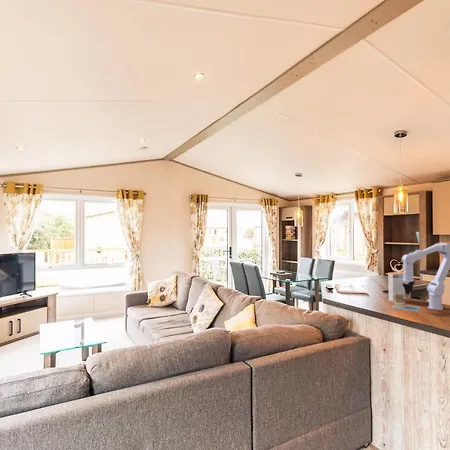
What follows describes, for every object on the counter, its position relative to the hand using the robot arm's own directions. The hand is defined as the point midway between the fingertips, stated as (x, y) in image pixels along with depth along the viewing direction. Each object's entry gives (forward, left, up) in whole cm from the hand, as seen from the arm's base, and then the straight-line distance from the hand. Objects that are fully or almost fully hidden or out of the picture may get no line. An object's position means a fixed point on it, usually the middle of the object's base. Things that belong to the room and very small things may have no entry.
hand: (408, 293), depth 222 cm
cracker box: (-19, -9, -11) cm, 24 cm away
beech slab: (-1, -6, -10) cm, 11 cm away
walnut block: (-1, -6, -7) cm, 9 cm away
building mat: (0, -2, -10) cm, 10 cm away
